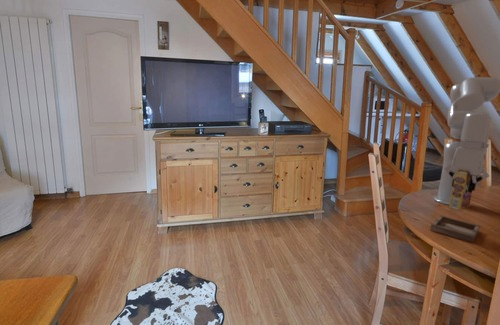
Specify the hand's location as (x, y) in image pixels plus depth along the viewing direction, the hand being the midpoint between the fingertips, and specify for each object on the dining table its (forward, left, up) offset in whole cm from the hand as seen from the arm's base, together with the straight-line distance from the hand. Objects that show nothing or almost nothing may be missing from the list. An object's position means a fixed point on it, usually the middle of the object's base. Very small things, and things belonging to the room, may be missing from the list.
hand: (462, 189), depth 123 cm
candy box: (0, 0, -8) cm, 8 cm away
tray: (0, 0, -18) cm, 18 cm away
